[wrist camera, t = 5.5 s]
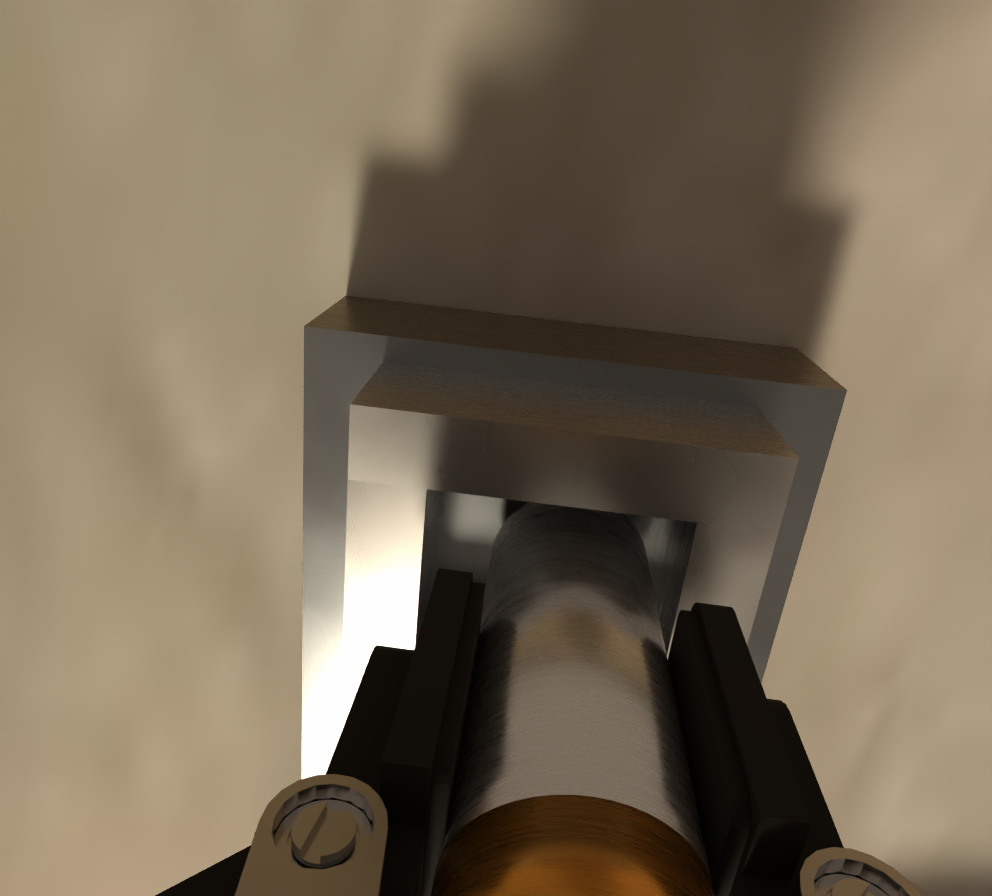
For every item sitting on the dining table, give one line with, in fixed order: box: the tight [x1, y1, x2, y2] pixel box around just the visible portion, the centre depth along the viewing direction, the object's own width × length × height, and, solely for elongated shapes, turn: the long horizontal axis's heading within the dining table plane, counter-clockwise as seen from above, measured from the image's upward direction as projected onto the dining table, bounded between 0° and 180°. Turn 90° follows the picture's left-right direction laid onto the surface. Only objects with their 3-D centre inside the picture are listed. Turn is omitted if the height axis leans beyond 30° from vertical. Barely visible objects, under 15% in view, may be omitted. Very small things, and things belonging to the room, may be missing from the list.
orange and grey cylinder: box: [431, 502, 715, 896], centre depth 10 cm, size 3×3×9 cm
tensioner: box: [302, 296, 847, 779], centre depth 17 cm, size 18×10×7 cm, turn 174°
